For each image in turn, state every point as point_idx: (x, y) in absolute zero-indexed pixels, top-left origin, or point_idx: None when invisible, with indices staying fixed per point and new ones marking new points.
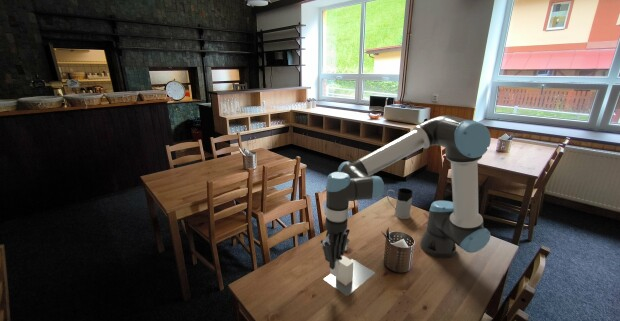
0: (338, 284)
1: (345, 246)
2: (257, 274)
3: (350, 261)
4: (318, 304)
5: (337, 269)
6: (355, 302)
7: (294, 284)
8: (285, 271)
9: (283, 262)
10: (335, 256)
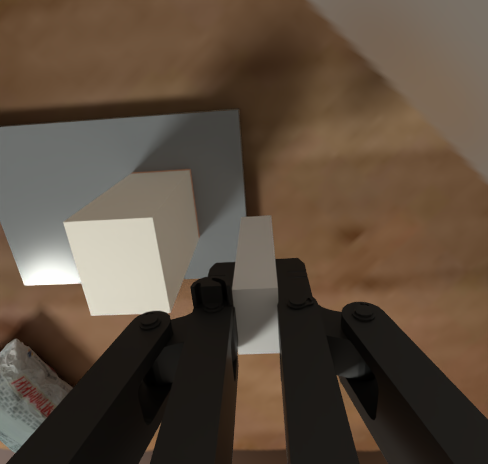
0: (213, 202)
1: (1, 359)
2: None
3: (86, 240)
4: (377, 179)
5: (250, 239)
6: (219, 56)
7: None
8: None
9: None
10: (294, 342)
